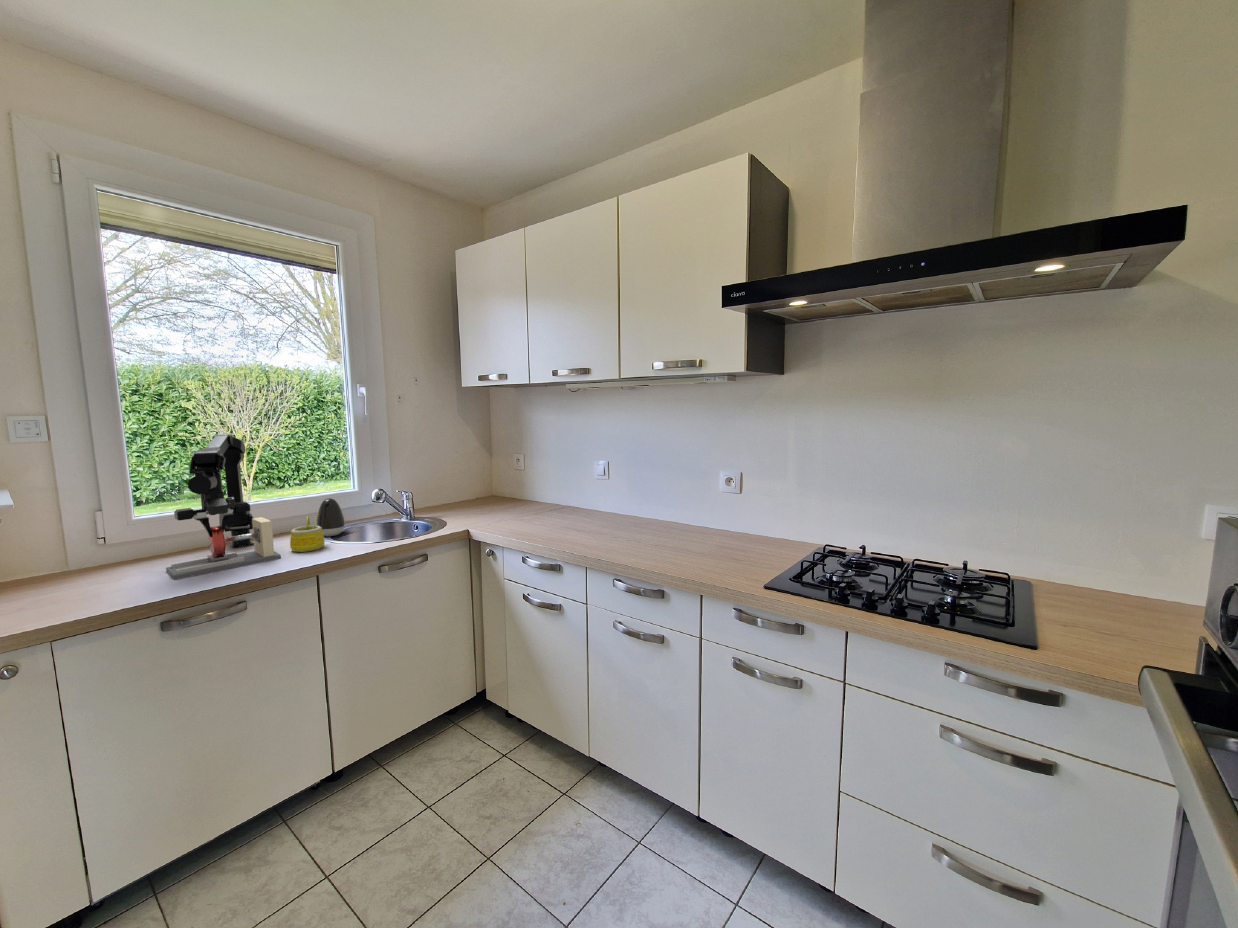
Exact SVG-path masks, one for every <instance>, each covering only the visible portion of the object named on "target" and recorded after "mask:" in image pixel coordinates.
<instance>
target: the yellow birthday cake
mask: <svg viewBox="0 0 1238 928" xmlns="http://www.w3.org/2000/svg"><path fill="white" fill-rule="evenodd" d="M318 516H319V515H318V513H317V514H316V517H315V521H314V524H313V525H311V522H310V521H311V520H310V516H306V525H304V526H303V525H302V526H299V527H294V528H293V529H291V531H290V539H289V540H290V541H289V545H290V546H289V547H290V550H291V551H292V552H295V553H307V552H313V551H316V550H319V549H321V548H322V547H324V546H325V536H323V531H322V527H320V526H316V523H317V517H318Z"/></svg>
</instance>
